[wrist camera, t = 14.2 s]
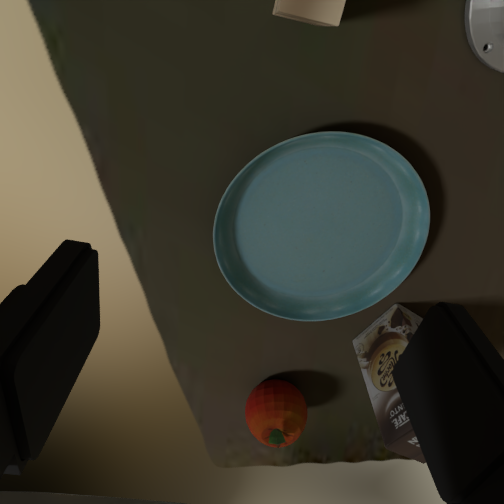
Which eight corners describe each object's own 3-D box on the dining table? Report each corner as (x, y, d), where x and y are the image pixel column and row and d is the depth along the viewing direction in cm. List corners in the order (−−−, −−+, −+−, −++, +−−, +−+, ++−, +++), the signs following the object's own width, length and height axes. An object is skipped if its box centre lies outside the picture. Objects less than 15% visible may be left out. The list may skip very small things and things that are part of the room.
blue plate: (416, 289, 48) (426, 305, 46) (240, 317, 51) (239, 334, 48) (423, 100, 36) (438, 107, 33) (189, 150, 38) (185, 160, 36)
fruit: (249, 408, 62) (249, 469, 53) (241, 372, 57) (239, 432, 48) (305, 404, 61) (313, 465, 53) (302, 366, 56) (311, 427, 48)
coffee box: (395, 300, 49) (450, 407, 35) (427, 320, 51) (491, 428, 37) (349, 340, 53) (383, 449, 40) (381, 357, 55) (424, 467, 41)
